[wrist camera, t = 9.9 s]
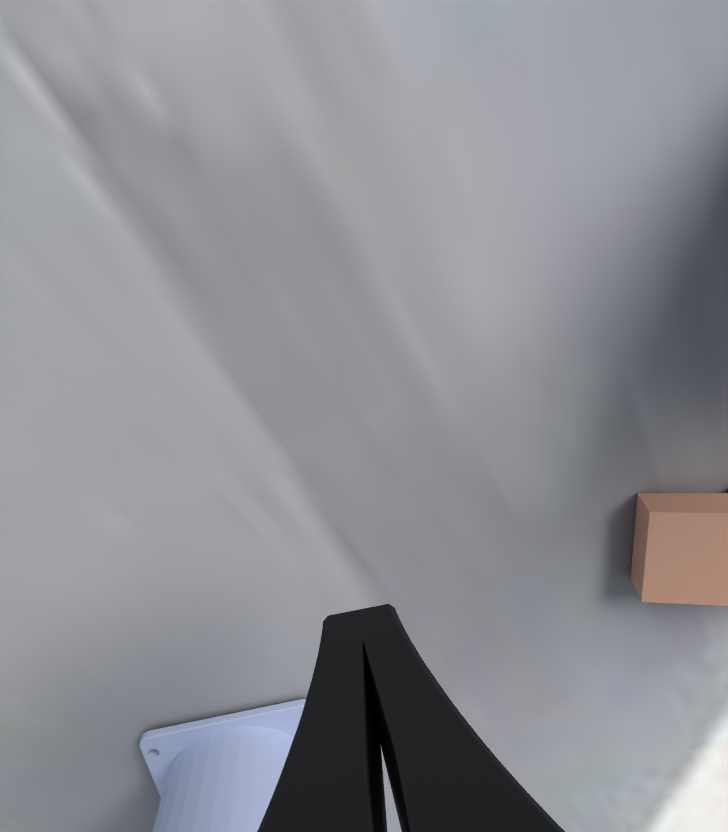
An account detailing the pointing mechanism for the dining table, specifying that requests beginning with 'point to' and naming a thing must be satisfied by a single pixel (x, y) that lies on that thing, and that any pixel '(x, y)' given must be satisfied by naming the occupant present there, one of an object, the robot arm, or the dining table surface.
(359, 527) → the dining table surface
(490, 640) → the dining table surface
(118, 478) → the dining table surface
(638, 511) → the domino
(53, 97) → the dining table surface
